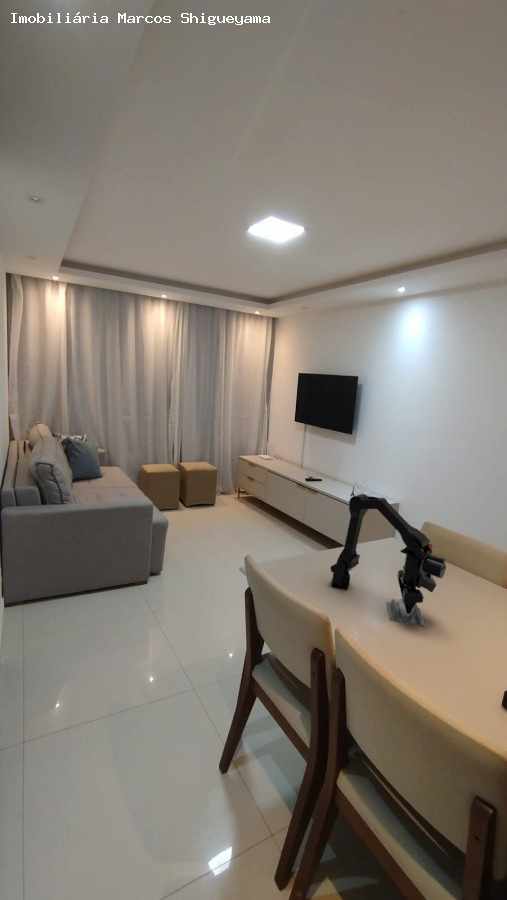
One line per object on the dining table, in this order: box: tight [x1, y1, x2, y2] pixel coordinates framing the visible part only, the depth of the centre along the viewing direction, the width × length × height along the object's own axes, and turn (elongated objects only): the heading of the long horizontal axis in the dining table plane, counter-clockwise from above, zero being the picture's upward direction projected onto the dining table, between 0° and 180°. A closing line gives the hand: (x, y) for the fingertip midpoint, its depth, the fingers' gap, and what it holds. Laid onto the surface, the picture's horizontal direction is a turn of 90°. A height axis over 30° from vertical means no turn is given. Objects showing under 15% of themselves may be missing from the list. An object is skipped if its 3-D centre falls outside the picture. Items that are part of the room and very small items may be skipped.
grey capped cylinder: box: [398, 598, 414, 617], centre depth 150 cm, size 5×5×6 cm
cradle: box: [386, 598, 426, 628], centre depth 150 cm, size 12×12×2 cm
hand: (406, 606), depth 150 cm, fingers open, 9 cm apart
